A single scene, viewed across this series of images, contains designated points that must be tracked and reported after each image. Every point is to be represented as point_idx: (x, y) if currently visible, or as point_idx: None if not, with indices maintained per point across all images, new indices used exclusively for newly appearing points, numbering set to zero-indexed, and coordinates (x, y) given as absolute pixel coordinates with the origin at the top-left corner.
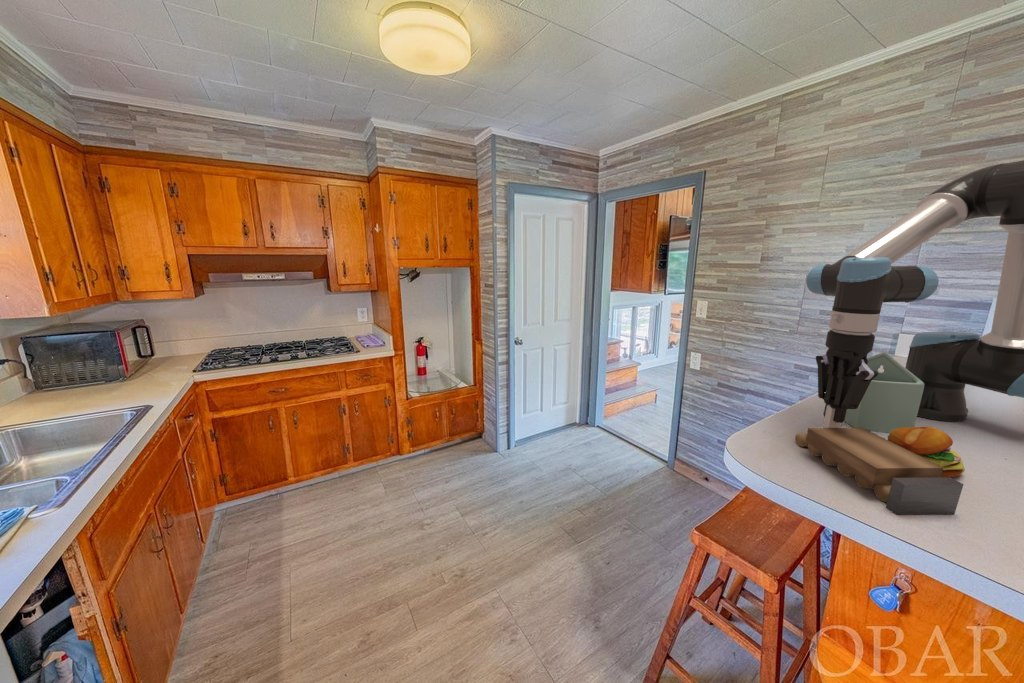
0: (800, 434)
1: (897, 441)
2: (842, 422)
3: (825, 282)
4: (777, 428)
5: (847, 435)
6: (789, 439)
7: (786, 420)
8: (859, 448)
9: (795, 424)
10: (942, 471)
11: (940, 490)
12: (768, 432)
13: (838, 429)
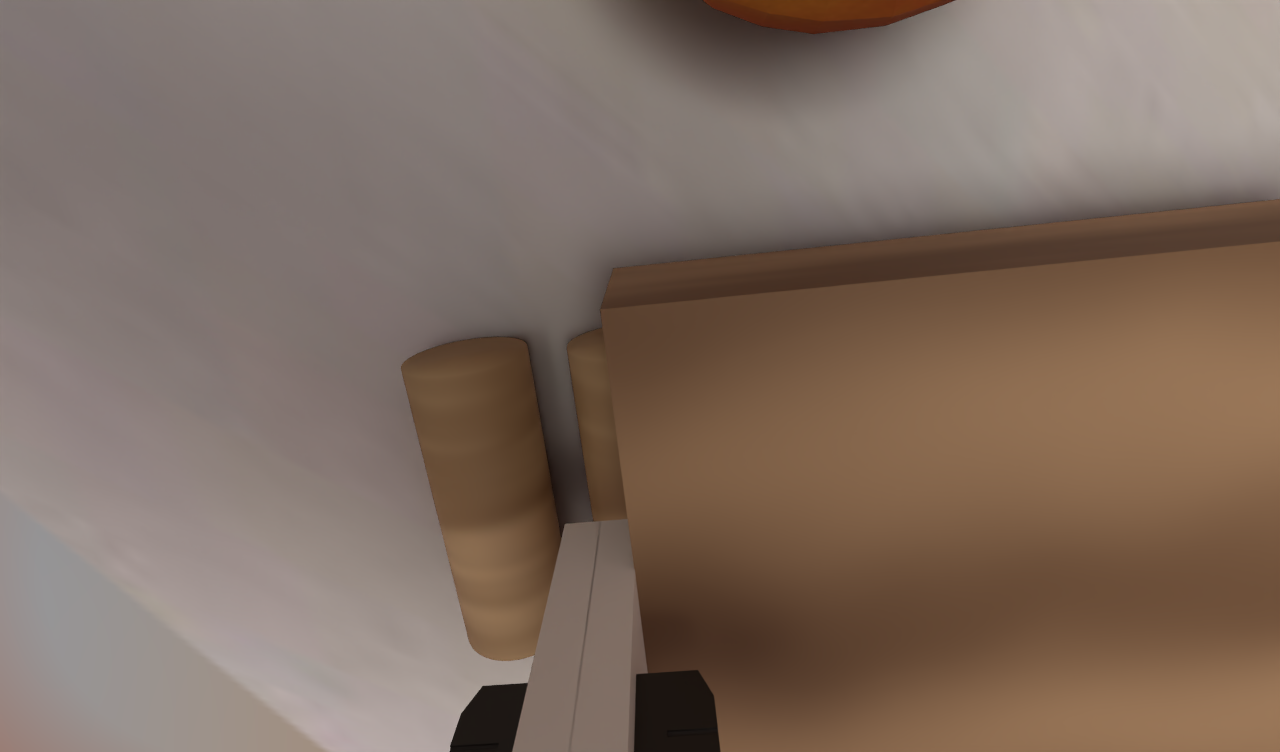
0: (506, 656)
1: (866, 5)
2: (697, 675)
3: None
4: (239, 575)
5: (840, 629)
6: (432, 591)
7: (16, 421)
8: (1123, 706)
9: (90, 392)
10: None
11: None
12: (339, 666)
13: (687, 620)
